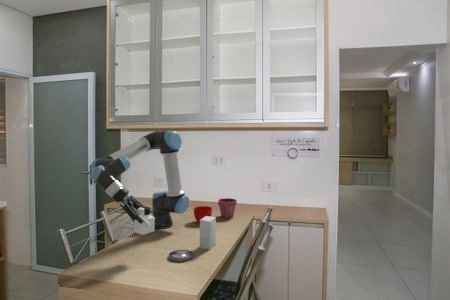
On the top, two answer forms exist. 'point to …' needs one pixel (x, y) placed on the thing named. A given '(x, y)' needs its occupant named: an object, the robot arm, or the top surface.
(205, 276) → the top surface
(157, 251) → the top surface
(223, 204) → the plant pot
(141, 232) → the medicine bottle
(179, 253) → the pad
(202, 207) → the ceramic cup
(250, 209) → the top surface
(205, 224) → the skincare box
